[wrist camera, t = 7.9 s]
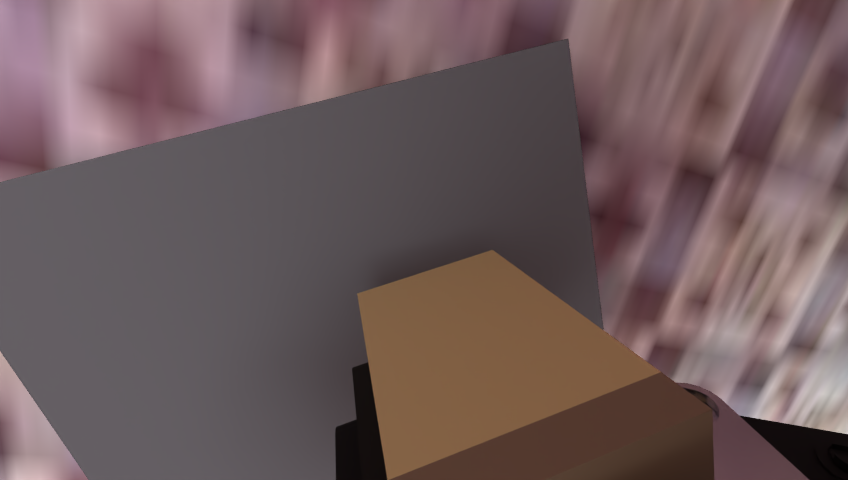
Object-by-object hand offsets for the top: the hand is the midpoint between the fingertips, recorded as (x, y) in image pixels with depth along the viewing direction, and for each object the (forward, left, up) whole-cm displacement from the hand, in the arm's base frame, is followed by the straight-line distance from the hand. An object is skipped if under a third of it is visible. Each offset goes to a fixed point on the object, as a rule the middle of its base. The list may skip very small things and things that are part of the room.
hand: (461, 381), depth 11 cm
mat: (+3, 0, -5) cm, 6 cm away
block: (0, 0, -1) cm, 1 cm away
